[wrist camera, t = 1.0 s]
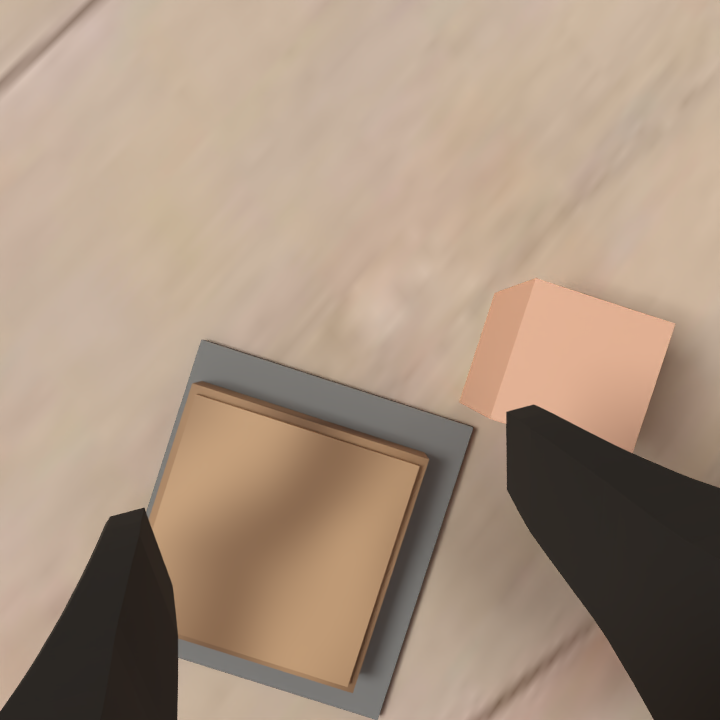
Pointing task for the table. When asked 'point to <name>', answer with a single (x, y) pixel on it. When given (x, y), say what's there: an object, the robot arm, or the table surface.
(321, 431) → the pedestal
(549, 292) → the block
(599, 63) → the table surface
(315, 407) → the mat
